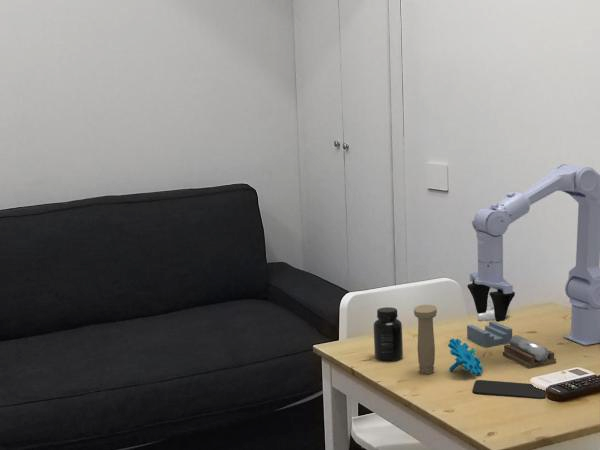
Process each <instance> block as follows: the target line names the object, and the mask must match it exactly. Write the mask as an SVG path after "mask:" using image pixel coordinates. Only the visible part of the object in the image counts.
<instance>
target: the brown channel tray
mask: <svg viewBox="0 0 600 450" xmlns="http://www.w3.org/2000/svg"><path fill="white" fill-rule="evenodd" d="M548 352H549V354H548V357H547V359H546V360H545V361H543V362H540V361H538V360H535V359H534V356H532V355H530V354H527V353H525V352H523V351H521V350H519V349H517V348H515V347H512V346H510V344H503V351H502V356H503V357H504V358H506V359H509V360H510V361H513V362H515V363H517V364H518V365H521V366H523V367H525V368H527V369H531V368H537V367H542V366H543V367H544V366H548V365H552V364H557V358H555V352H553V351H551V350H549V349H548Z"/></svg>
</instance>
